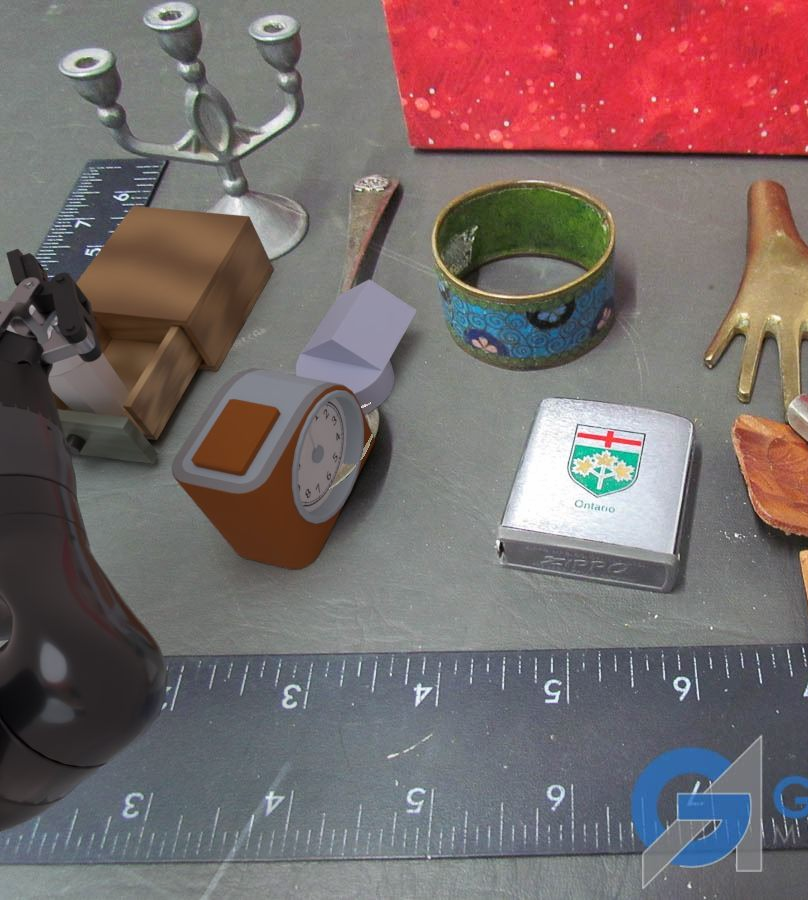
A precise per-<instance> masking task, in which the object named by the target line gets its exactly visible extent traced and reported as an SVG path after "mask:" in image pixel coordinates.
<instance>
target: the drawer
mask: <svg viewBox="0 0 808 900" xmlns="http://www.w3.org/2000/svg"><path fill="white" fill-rule="evenodd" d="M94 320H95V325H96V329H97V333H98V337H99V342H100V346H101V350H102V353H103V354H104V356H105V357H106V359H107V360H108V362H109V363H110V365H111V366H112V368H113V369H114V371H115V372H116V374H117V375H118V376H119V378H120V379H121V381H122V382H123V384H124V385H125V387H126V388H127V390H128V391H129V392H130V394H129V396H128V398H127V399H126V401H125V402H124V404H123V407H124V408H125V409H126V412H125V413H124V414H122V415H120V416H119V417H118V416H110V415H102V414H93V413H85V412H77V411H72V410H71V409H70V408H69V407H68V406H67V405H66V404H65V403H64V402H63V401H62V400H61V399H60V398H59V397H58V396H57V395H56V394H55V393H54V392H53V391H52V392H53V396H54V400H55V403H56V407H57V410H58V414H59V417H60V421H61V424H62V428H63V431H64V435H65V438H66V441H67V442H68V443H69V445H70V448H71V451H72V455H81V456H88V457H89V456H90V457H98V458H103V459H104V458H106V459H113V460H119V461H121V460H122V461H127V462H128V461H129V462H137V463H144V464H154V463H155V461H156V459H157V458H158V456H159V453H158V451H157V450H156V449H155V448H154V446H153V444H151V442H150V441H149V440H155V441H157V440H158V439H159V437H160V435H161V433H162V432H163V430H164V429H165V427H166V426H167V425H166V424H168V421H169V419H170V418H171V416H172V414H173V413H174V411H175V410H176V408H177V406H178V403H179V402H180V400H181V399H182V397H183V395H184V393H185V392H186V390H187V388H188V387H189V384H190V382H191V381H192V379H193V377H194V376H195V374H196V372H197V371H198V370H199V369H198V367H199V365H200V363H201V362H202V360H203V358H202V356H201V354H200V353H199V351H198V350H197V348H196V347H195V345H194V344H193V342H192V340H191V339H190V337H189V336H188V334H187V333H186V331H185V329H184V328H183V326H181V325H171V324H162V323H153V322H143V321H134V320H125V319H115V318H106V317H96V316H94Z"/></svg>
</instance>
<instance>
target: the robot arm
mask: <svg viewBox="0 0 808 900" xmlns="http://www.w3.org/2000/svg"><path fill="white" fill-rule="evenodd" d="M5 255H6V258H7V261H8V265H9V269H10V272H11V276H12V279H13V283H14V285H15V286H16V288H15V289H14V290H13V292H12V293H11V294H10V296H9V297H8V299H7V300H0V642H4V643H3V644H2V645H1V646H0V833H4V832H6V831H9V830H11V829H14V828H16V827H19V826H21V825H23V824H25V823H28V822H30V821H32V820H34V819H36V818H37V817H39V816H40V815H43V814H44V813H45V812H47V811H48V810H50V809H51V808H53V807H54V806H55V805H57V803H59V802H60V801H62V800H64V798H66V797H67V796H68V795H69V794H71V793H72V792H73V791H74V790H75V789H76V788H78V787H80V786H81V785H82V784H83V783H84V782H86V781H87V780H88V779H90V778H91V777H92V776H94V775H95V774H96V773H98V772H99V771H100V770H101V769H103V768H104V767H105V766H107V765H108V764H109V763H111V762H112V761H113V760H114V759H116V758H117V757H118V756H120V755H121V754H123V752H125V751H126V750H128V749H129V748H130V747H131V746H133V745H134V744H136V743H137V742H138V741H139V740H140V739H141V738H142V737H144V736H145V735H146V733H147V732H149V730H150V729H151V728H152V727H153V726H154V725H155V723H156V721H157V720H158V718H159V717H160V715H161V713H162V710H163V707H164V704H165V701H166V695H167V690H168V668H167V664H166V663H167V662H166V660H165V659H166V658H165V655H164V653H163V651H162V649H161V647H160V644H159V642H157V639H156V638H155V637H154V635H153V634H152V633H151V632H150V630H149V629H148V627H146V625H145V624H144V623H143V622H142V621H141V619H140V618H139V617H138V616H137V614H136V613H135V612H134V610H132V608H131V607H130V606H129V605H128V603H127V602H126V600H125V599H124V597H122V595H121V594H120V592H119V591H118V589H117V588H116V586H115V585H114V584H113V582H112V581H111V579H110V578H109V577H108V575H107V574H106V572H105V571H104V569H103V568H102V567H101V565H100V564H99V562H98V561H97V560H96V558H95V556H94V555H93V553H92V549H91V544H90V542H89V536H88V532H87V530H86V525H85V523H84V519H83V516H82V512H81V508H80V504H79V499H78V489H77V488H78V487H77V476H76V472H75V467H74V464H73V453H72V451H71V448H70V445H69V443H68V442H67V441H66V438H65V435H64V431H63V428H62V424H61V421H60V417H59V414H58V410H57V407H56V403H55V400H54V396H53V392H52V390H51V387H50V384H49V381H48V378H49V374H50V372H51V370H52V367H53V363H55V362H58V361H61V360H64V359H66V358H69V357H72V356H75V355H79V356H80V358H81V359H82V360H83V361H85V362H92V361H95V360H97V359H98V358H99V357H100V356H101V354H102V350H101V346H100V342H99V337H98V333H97V329H96V325H95V320H94V316H93V312H92V307H91V303H90V302H89V300H88V299H87V298H86V296H85V295H84V293H83V292H82V291H81V289H80V288H79V287H78V285H77V284H76V283H77V282H76V281H75V280H74V278H73V277H72V276H71V275H70V274H69V272H60V273H56V274H55V275H53V276H52V277H51V279H49V276H48V273H47V271H46V269H45V268H44V267H43V266H42V264H41V263H40V262H39V261H38V259H37V258H36V257H35V255H33V254H32V253H31V252H28V253H25V254H24V253H23V252H22V251H21V250H20V248H15V249H12V250H10V251H7V252H5ZM31 305H33V306H34V308H35V311H34V312H33V314H32V315H31V314H30V312H29V308H30V306H31ZM56 316H57V320H54V319H55V317H56ZM9 325H10V326H11V327H12V328H13V329H14V330H15V332H16V333H14V332H11V331H9V330H6V329H7V328H8V326H9ZM50 325H51V326H52V327H53V330H52V331H51V336H50V338H49V339H48V333H47V330H48V328H49V327H50ZM5 641H6V642H5Z"/></svg>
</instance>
